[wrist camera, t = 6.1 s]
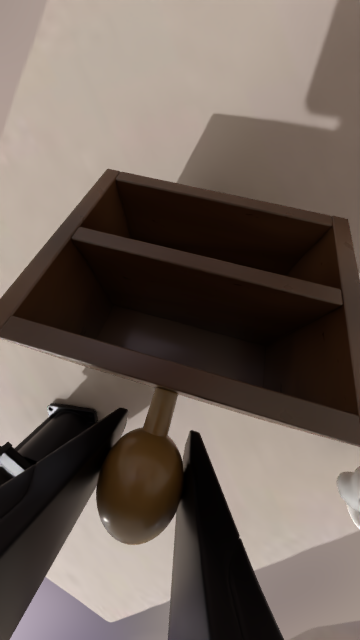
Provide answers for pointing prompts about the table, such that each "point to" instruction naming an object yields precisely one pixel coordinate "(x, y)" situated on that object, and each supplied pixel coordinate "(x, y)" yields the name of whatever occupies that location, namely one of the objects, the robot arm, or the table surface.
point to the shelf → (194, 322)
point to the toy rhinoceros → (351, 493)
